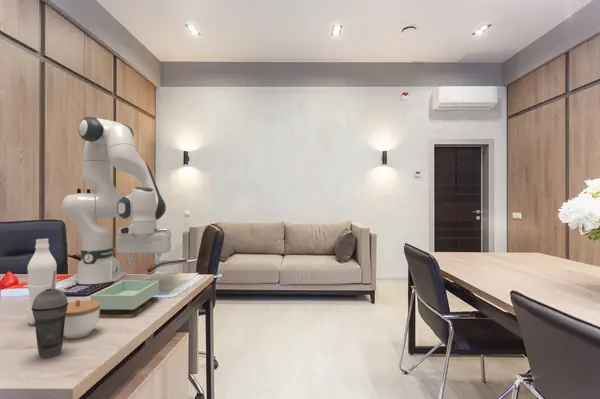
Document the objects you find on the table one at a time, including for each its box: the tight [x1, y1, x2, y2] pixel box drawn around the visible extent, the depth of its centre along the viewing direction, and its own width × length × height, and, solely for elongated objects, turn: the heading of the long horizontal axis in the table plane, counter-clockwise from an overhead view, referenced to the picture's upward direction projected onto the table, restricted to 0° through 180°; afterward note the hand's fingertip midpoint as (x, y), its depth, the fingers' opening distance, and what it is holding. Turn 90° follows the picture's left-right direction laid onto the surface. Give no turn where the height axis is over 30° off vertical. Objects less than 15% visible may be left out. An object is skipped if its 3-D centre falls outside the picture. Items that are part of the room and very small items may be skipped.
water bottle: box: [26, 238, 58, 326], centre depth 106 cm, size 7×7×25 cm
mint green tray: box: [89, 279, 160, 311], centre depth 120 cm, size 20×14×6 cm
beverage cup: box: [31, 270, 69, 358], centre depth 85 cm, size 7×7×20 cm
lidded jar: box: [63, 299, 100, 340], centre depth 97 cm, size 11×11×9 cm
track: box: [99, 296, 159, 319], centre depth 120 cm, size 20×20×1 cm
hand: (144, 264), depth 137 cm, fingers open, 8 cm apart
